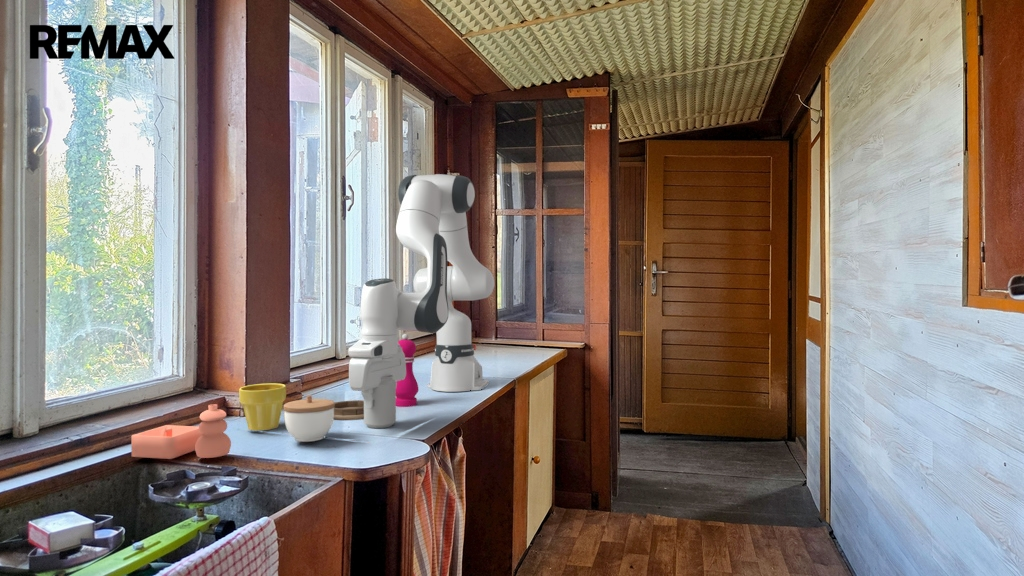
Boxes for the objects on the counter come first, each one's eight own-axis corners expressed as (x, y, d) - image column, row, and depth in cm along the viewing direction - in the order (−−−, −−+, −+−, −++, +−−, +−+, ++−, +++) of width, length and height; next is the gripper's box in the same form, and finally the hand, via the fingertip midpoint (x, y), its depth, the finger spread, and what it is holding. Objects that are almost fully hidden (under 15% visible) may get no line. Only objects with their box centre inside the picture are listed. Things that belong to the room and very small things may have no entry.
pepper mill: (416, 407, 174) (415, 334, 174) (389, 407, 174) (389, 334, 174) (420, 402, 181) (420, 332, 181) (395, 402, 181) (395, 332, 181)
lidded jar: (283, 435, 142) (283, 393, 142) (332, 431, 146) (332, 390, 146) (284, 446, 132) (283, 401, 132) (337, 441, 136) (336, 398, 136)
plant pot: (236, 434, 143) (235, 391, 143) (242, 424, 153) (242, 384, 153) (284, 431, 146) (284, 389, 146) (287, 422, 156) (287, 382, 156)
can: (357, 427, 150) (356, 376, 150) (377, 420, 156) (377, 372, 156) (382, 430, 146) (381, 378, 146) (402, 423, 153) (401, 374, 153)
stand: (344, 407, 173) (344, 398, 173) (388, 411, 169) (388, 401, 169) (311, 417, 160) (311, 408, 160) (359, 421, 156) (359, 411, 156)
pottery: (131, 456, 125) (131, 407, 125) (166, 444, 135) (166, 398, 135) (211, 461, 122) (211, 410, 122) (242, 448, 131) (241, 401, 131)
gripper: (390, 342, 162) (390, 396, 162) (343, 350, 143) (344, 411, 143) (412, 342, 160) (412, 397, 160) (367, 350, 141) (368, 412, 141)
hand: (379, 404), depth 151 cm, fingers closed on can, 7 cm apart
